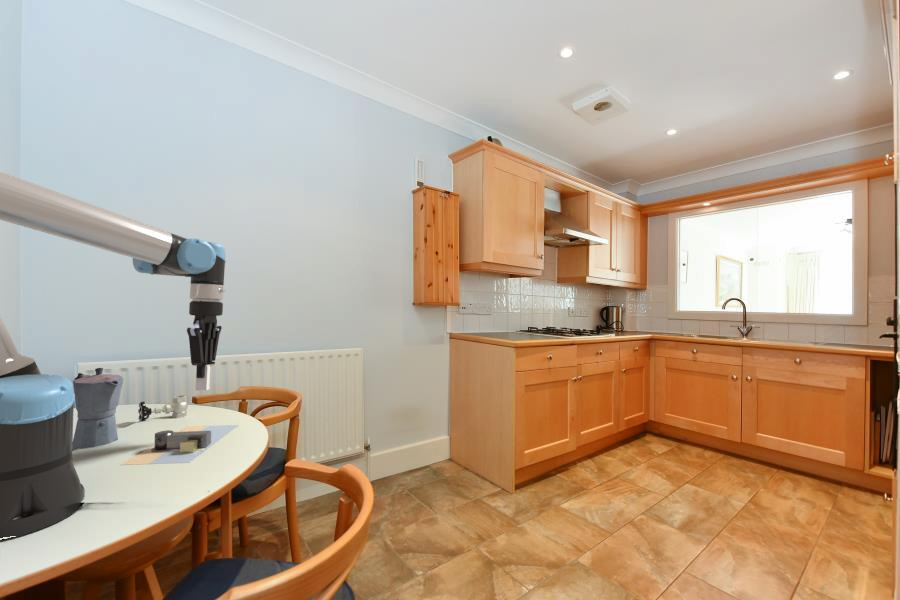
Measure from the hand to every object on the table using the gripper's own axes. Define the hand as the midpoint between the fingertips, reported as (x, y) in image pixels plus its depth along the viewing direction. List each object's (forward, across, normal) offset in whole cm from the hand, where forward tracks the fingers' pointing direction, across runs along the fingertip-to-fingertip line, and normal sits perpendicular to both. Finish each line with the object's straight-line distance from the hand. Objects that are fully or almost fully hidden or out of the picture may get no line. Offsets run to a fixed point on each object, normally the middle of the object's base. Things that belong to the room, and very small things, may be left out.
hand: (202, 389), depth 100 cm
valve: (+14, +21, +21) cm, 33 cm away
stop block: (+13, -10, -2) cm, 16 cm away
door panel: (+14, -3, +1) cm, 14 cm away
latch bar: (+12, -7, 0) cm, 14 cm away
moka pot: (+14, -2, +24) cm, 28 cm away
